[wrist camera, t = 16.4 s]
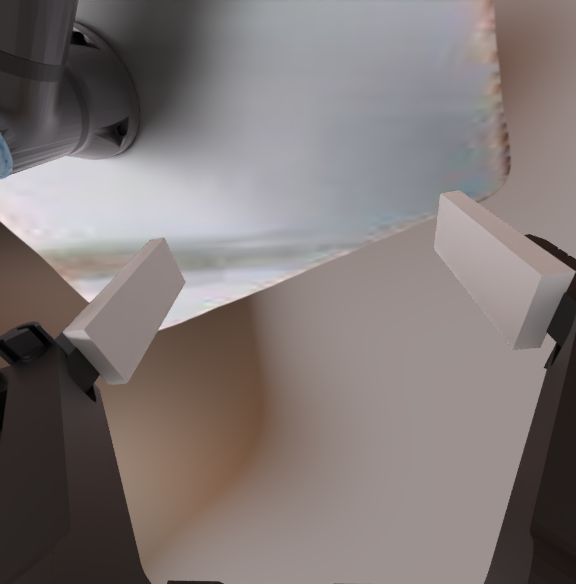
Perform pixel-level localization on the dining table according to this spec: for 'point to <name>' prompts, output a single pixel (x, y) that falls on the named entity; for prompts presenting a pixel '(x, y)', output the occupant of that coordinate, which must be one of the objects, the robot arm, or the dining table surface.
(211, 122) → the dining table surface
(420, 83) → the dining table surface
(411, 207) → the dining table surface
